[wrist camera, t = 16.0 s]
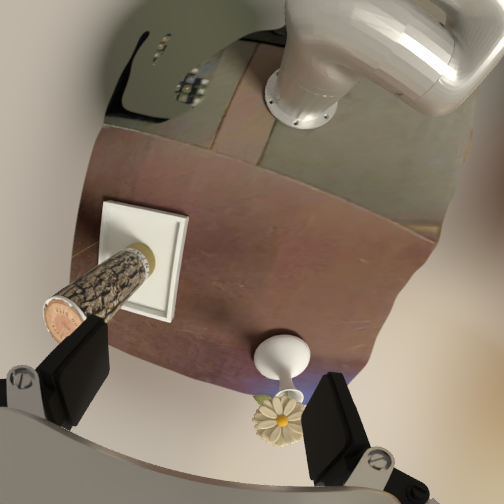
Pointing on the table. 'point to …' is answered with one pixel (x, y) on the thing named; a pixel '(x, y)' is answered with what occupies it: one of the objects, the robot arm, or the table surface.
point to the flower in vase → (281, 389)
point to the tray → (158, 241)
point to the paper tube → (98, 291)
